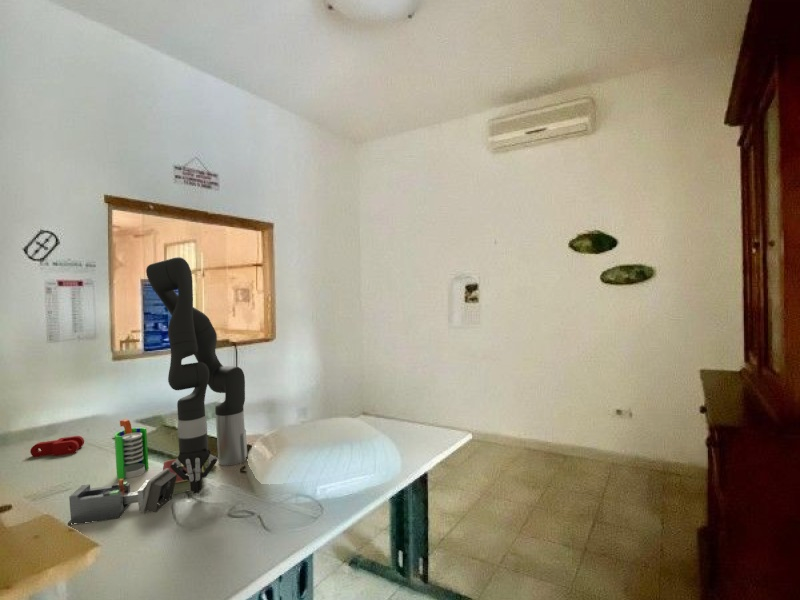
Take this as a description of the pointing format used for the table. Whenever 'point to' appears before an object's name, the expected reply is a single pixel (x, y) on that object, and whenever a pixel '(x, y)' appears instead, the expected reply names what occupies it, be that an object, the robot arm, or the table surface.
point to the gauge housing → (97, 503)
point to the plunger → (133, 494)
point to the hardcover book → (179, 479)
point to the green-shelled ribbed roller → (131, 451)
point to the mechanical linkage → (58, 446)
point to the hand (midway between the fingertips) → (196, 492)
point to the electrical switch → (158, 491)
